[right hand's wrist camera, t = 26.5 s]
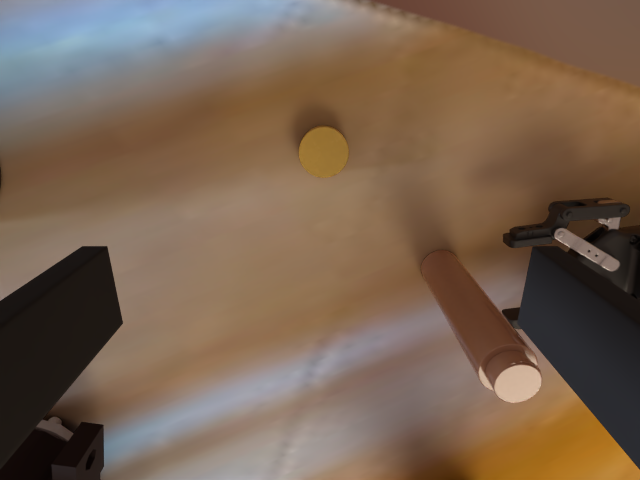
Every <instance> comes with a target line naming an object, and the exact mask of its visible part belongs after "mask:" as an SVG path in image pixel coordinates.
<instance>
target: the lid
mask: <svg viewBox="0 0 640 480" xmlns="http://www.w3.org/2000/svg"><path fill="white" fill-rule="evenodd" d="M348 156H349V149H348V144H347V142H346V140H345V138H344V136H343V135H342V133H341V132H340V131H338V130H337V129H335V128H333V127H331V126H325V125H323V126H317V127H314V128H312V129H310V130H309V131H308V132H307V133H306V134H305V135H304V137H303V138H302V140H301V143H300V146H299V159H300V162H301V164H302V166H303V167H304V168H305V170H306V171H307V172H309V173H310V174H312V175H314V176H316V177H321V178H326V177H331V176H334V175H336V174H337V173H339V172H340V171H341V170H342V169H343V168H344V166H345V165H346V163H347V160H348Z"/></svg>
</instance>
